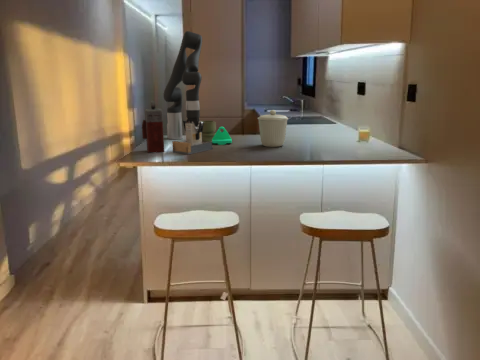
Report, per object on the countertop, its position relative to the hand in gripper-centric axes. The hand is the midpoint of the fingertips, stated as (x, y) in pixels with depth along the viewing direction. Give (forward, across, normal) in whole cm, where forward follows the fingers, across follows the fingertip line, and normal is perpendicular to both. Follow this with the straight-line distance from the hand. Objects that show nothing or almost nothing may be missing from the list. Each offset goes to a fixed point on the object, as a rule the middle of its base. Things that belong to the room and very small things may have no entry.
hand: (193, 139), depth 257 cm
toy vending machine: (+7, -18, -15) cm, 24 cm away
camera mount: (+7, -2, +28) cm, 28 cm away
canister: (+7, +28, +38) cm, 48 cm away
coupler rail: (+6, 0, -1) cm, 6 cm away
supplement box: (+4, 0, 0) cm, 4 cm away
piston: (+7, -19, +33) cm, 39 cm away
